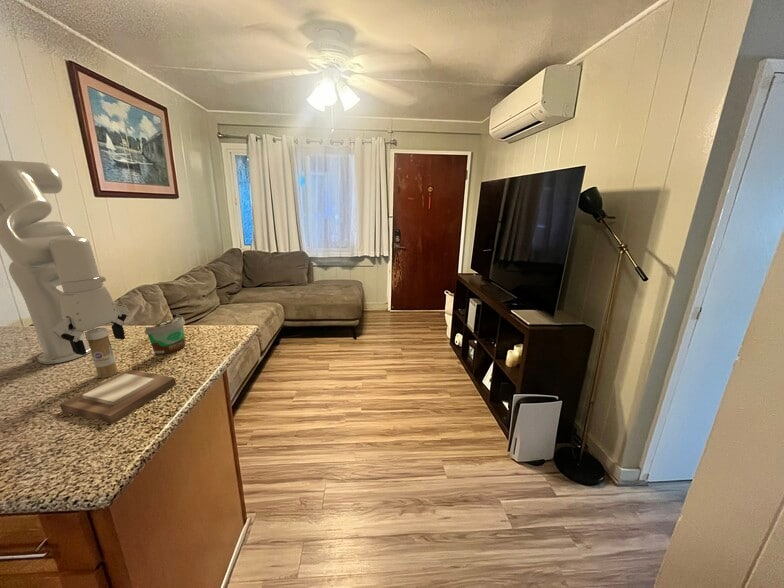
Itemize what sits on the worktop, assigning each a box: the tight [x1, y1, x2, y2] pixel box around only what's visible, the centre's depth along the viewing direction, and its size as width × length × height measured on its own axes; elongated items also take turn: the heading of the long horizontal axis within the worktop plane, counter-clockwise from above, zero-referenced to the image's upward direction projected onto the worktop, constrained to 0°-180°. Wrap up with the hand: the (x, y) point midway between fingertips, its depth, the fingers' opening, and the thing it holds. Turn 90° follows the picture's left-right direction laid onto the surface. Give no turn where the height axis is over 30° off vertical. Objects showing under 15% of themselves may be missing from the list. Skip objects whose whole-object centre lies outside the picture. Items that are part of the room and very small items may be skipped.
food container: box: [144, 313, 186, 356], centre depth 104 cm, size 12×6×10 cm, turn 168°
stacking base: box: [59, 368, 177, 424], centre depth 81 cm, size 16×16×3 cm
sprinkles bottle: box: [84, 327, 119, 379], centre depth 89 cm, size 5×5×13 cm
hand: (101, 346), depth 88 cm, fingers open, 9 cm apart
